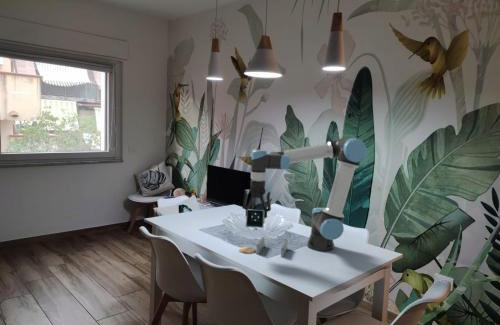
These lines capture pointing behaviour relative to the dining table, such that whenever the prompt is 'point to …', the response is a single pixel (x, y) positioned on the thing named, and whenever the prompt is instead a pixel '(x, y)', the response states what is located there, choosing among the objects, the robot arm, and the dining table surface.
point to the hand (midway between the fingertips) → (255, 222)
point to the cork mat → (247, 250)
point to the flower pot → (255, 218)
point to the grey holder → (261, 245)
